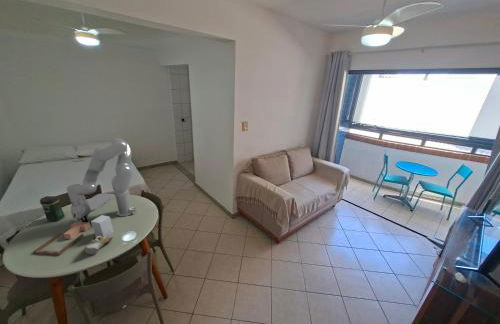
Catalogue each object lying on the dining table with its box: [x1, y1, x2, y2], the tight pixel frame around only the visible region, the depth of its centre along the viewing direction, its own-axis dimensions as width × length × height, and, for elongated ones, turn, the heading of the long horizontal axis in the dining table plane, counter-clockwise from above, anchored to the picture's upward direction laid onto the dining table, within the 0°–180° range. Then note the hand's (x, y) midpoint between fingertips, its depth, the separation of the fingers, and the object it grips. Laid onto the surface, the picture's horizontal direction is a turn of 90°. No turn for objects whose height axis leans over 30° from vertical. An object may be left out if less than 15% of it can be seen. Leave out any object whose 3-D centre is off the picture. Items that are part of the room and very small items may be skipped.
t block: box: [63, 221, 91, 240], centre depth 130 cm, size 10×12×4 cm
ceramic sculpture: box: [84, 235, 113, 255], centre depth 117 cm, size 11×9×15 cm
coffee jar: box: [39, 195, 65, 222], centre depth 141 cm, size 10×8×19 cm
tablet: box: [86, 193, 115, 213], centre depth 165 cm, size 16×26×2 cm, turn 176°
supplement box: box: [90, 214, 114, 239], centre depth 128 cm, size 7×7×13 cm
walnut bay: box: [32, 232, 85, 256], centre depth 120 cm, size 16×16×2 cm
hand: (85, 223), depth 138 cm, fingers closed
